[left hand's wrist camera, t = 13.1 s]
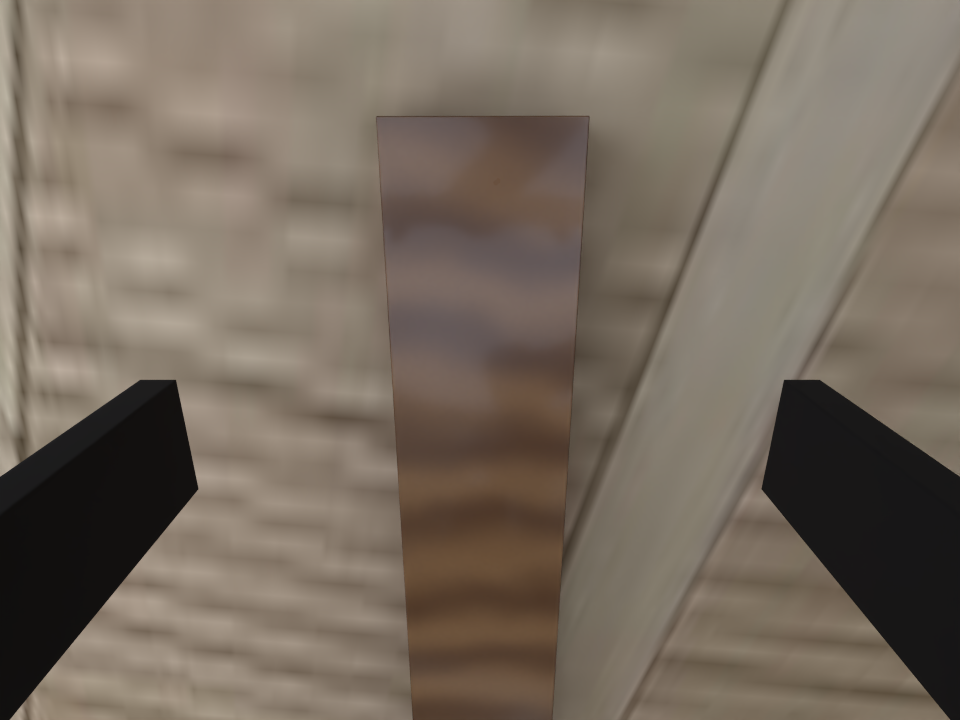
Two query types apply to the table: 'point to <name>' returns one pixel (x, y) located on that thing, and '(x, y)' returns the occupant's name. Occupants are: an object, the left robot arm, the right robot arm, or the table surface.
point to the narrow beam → (482, 396)
